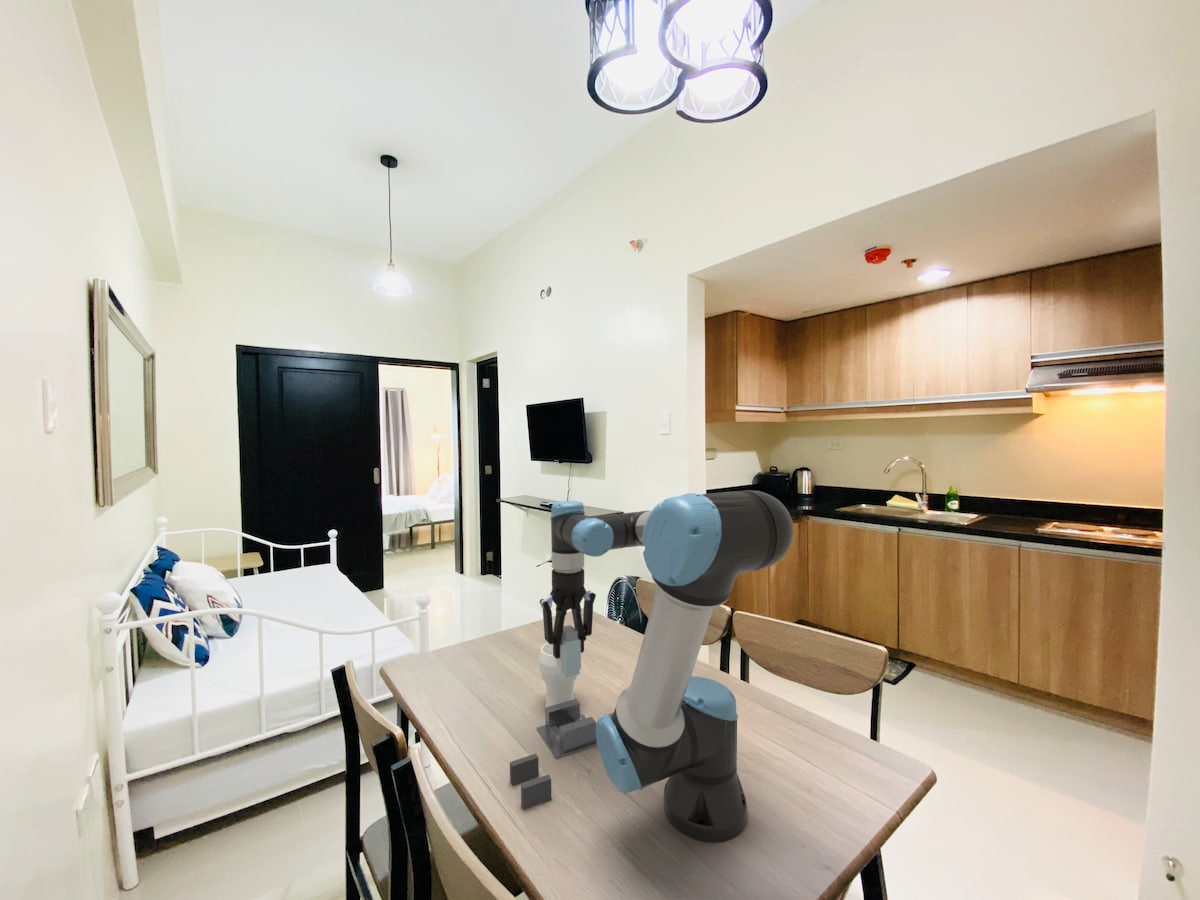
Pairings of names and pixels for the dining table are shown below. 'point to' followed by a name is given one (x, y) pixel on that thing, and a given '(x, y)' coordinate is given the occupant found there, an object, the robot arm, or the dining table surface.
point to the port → (567, 729)
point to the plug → (571, 651)
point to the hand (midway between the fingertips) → (568, 668)
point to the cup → (554, 678)
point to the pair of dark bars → (533, 789)
